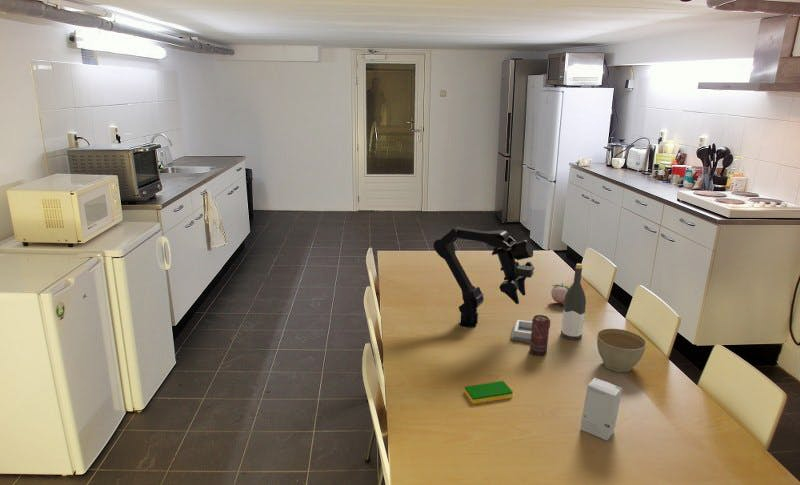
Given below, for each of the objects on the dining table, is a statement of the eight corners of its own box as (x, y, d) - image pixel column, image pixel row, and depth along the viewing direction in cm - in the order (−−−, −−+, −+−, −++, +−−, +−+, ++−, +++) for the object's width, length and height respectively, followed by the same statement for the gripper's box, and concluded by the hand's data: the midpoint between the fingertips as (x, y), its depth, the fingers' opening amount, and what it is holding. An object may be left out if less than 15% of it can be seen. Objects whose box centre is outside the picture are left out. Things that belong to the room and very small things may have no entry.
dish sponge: (512, 398, 171) (513, 392, 171) (472, 405, 168) (473, 398, 167) (502, 387, 178) (503, 380, 177) (463, 392, 174) (464, 386, 173)
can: (547, 357, 197) (551, 322, 193) (530, 355, 198) (533, 320, 194) (546, 349, 203) (550, 315, 199) (529, 347, 204) (532, 313, 200)
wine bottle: (583, 333, 216) (591, 262, 207) (580, 341, 209) (588, 268, 200) (562, 329, 219) (569, 259, 211) (559, 337, 212) (566, 265, 204)
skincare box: (579, 430, 155) (585, 384, 151) (587, 420, 160) (593, 376, 155) (608, 442, 150) (615, 395, 146) (616, 432, 155) (622, 386, 150)
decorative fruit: (548, 305, 243) (550, 285, 240) (551, 299, 250) (553, 279, 247) (570, 309, 239) (572, 288, 236) (572, 302, 247) (574, 282, 244)
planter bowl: (620, 382, 181) (624, 353, 178) (583, 361, 194) (587, 333, 191) (652, 371, 188) (657, 343, 185) (615, 351, 201) (619, 325, 198)
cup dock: (510, 339, 210) (511, 331, 209) (514, 326, 222) (515, 318, 221) (545, 344, 206) (545, 336, 205) (546, 330, 218) (547, 322, 217)
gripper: (520, 265, 196) (534, 304, 198) (533, 250, 212) (546, 287, 213) (493, 271, 202) (506, 309, 204) (507, 257, 218) (520, 292, 219)
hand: (521, 299), depth 210 cm, fingers open, 9 cm apart
